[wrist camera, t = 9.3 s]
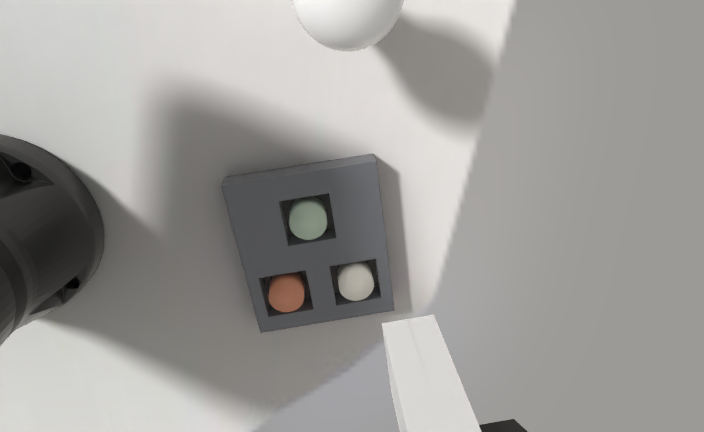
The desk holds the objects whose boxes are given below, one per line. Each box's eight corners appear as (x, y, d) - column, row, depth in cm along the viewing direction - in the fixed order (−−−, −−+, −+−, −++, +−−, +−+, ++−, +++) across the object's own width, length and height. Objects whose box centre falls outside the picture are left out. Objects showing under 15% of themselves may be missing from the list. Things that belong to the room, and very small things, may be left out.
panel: (262, 319, 45) (260, 332, 43) (225, 177, 39) (221, 185, 37) (390, 297, 45) (394, 310, 43) (372, 153, 39) (376, 161, 37)
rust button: (274, 301, 43) (272, 314, 41) (267, 272, 42) (265, 285, 40) (307, 295, 43) (307, 308, 42) (301, 266, 42) (300, 279, 40)
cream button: (340, 290, 44) (341, 303, 42) (334, 261, 42) (336, 273, 40) (372, 284, 44) (375, 297, 42) (368, 255, 42) (371, 267, 40)
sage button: (293, 231, 41) (293, 242, 39) (286, 198, 40) (285, 208, 38) (328, 225, 41) (329, 236, 39) (322, 192, 40) (323, 202, 38)
